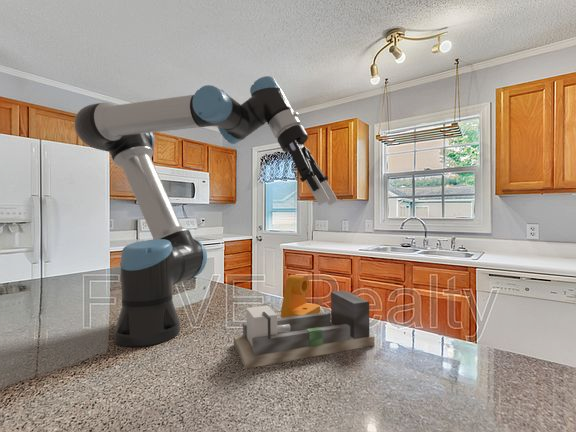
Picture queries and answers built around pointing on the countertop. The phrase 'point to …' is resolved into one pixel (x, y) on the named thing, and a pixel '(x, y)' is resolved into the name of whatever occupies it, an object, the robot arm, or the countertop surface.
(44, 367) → the countertop surface
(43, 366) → the countertop surface
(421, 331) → the countertop surface
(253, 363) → the base
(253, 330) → the gauge carriage
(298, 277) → the bracket
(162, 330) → the robot arm
